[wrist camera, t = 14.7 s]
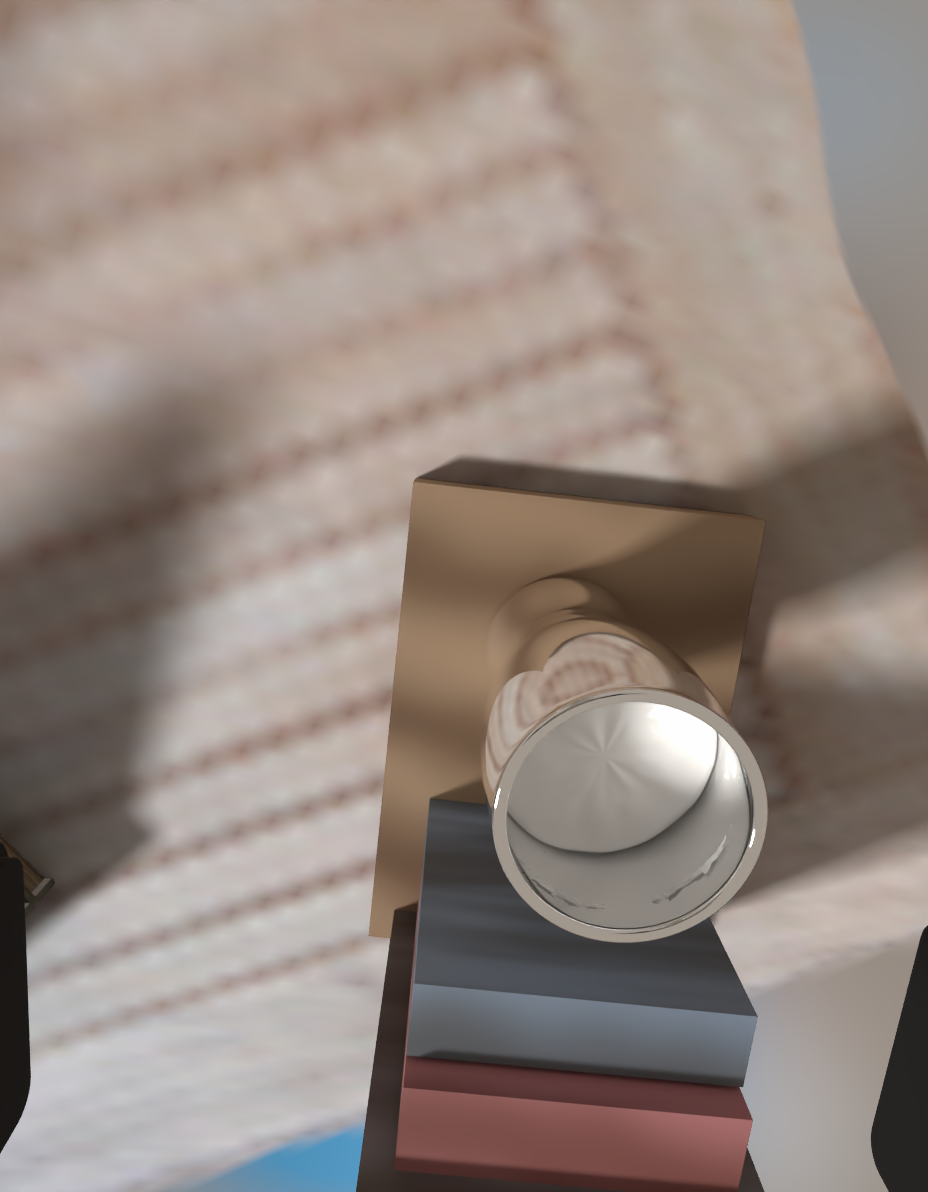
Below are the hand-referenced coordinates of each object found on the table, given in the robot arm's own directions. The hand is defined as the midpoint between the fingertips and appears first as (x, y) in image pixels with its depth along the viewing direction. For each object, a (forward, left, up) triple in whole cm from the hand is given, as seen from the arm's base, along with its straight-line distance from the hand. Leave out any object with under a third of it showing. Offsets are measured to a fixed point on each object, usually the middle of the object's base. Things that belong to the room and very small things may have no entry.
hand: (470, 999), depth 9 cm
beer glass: (+3, +4, -26) cm, 27 cm away
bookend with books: (+7, +5, -28) cm, 29 cm away
